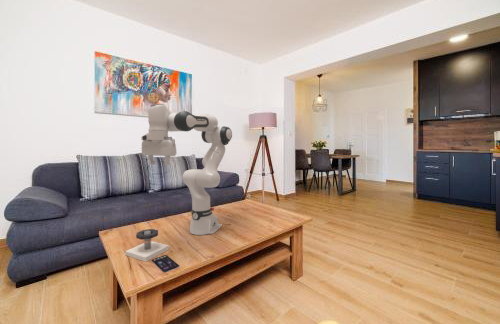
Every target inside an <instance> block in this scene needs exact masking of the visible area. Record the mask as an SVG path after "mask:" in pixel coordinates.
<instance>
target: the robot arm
mask: <svg viewBox="0 0 500 324" xmlns="http://www.w3.org/2000/svg"><path fill="white" fill-rule="evenodd" d="M147 116H148V119H147V120H148V121H147V122H148V125H149V128H148V133H145V134H143V135H142V136H141V154H142V155H143V156H147V159H148V160H149V165H151V166H153V165H155V163H156V161H155V160H154V156H159V157H161V156H162V157H164V158H165V160H164V161H163V166H169V164H170V163H169V162H170V160H171V157H176V155H177V145H176V140H175V138H174V137H173V136H169V132H170V133H172V132H190V131H192V130H193V129H194V130H195V131H197V132H201V139H202V141H203V142H204V143H208V144H211V146H210V147H209V149H208V150H207V152H206V153H205V154H204V156H203V158H202V161H201V163H202V166H203V168H202V169H199V168H198V169H196V168H192V169H188V170H187V169H186V170H185V171H184V172H183V174H182V181H183V183H184V185H186V186H187V188H188V189H189V192H190V196H191V204H192V205H191V207H192V208H191V216H190V225H189V229H188V230H189V233H190V234H192V235H197V236H204V235H210V234H212V235H213V234H215V233H216V232H217V231H218V230H219V229H221V227H223V224H222V223H221V222H219V218H218V216H217V215H215V214H213V212H214V211H215V208H214V207H211V195H210V194H209V193H208V192H207V191H206V190H205V189H206V188H207V189H208V188H209V189H212V188H213V189H214V188H216V187H218V186H219V184H221V183H220V182H221V176H220V173H219V172H218V168H219V166H220V163H221V162H222V160H223V158H224V156H225V153H226V145H229V143H230V141H231V140H232V139H233V132H232V129H231V128H230V127H229V126H218V125H219V121H218V119H217V117H216V116H214V115H211V114H208V113H197V114H193V113H191V112H189V111H185V110H184V111H180V112H178V111H177V112H172V110H170V109H168V107H167V105H166V104H164V103H158V104H157V103H156V104H151V105H150V106H149V108H148V115H147Z"/></svg>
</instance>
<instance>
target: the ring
mask: <svg viewBox="0 0 500 324" xmlns="http://www.w3.org/2000/svg"><path fill="white" fill-rule="evenodd" d="M145 231H151V234H147V235H144V232H145ZM158 235H159V229H155V228H149V229H143V230H140V231H138V232H136V235H135V236H136V237H135V238H136V239H138V240H142V241H144V239H150V238H151V239H153V238H156V237H158Z"/></svg>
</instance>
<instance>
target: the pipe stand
mask: <svg viewBox="0 0 500 324" xmlns="http://www.w3.org/2000/svg"><path fill="white" fill-rule="evenodd" d="M147 234H151V231H145V232H144V235H147ZM168 250H170V246H169V245H168V244H164V243H160V242H157V241H153V240H152V238H150V239H144V240H143V243H141V244H138V245H137V246H134V247H132V248H130V249H128V250H127V249H126V250H125V253H124V254H125V256H127V257H129V258H134V259H136V260H139V261H141V262H144V263H145V262H148V261H151V260H152V259H154V258H157V256H159V255H162V254H163V253H165V252H167V251H168Z"/></svg>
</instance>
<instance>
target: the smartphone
mask: <svg viewBox="0 0 500 324" xmlns="http://www.w3.org/2000/svg"><path fill="white" fill-rule="evenodd" d="M150 261H151V263H153V264H154V266H155V267H156V268H157V269H159V270H160V271H161V272H162V274H163V273H164V274H166V273H168V272H171V271H173V270H176V269H179V268H180V266H181V265H180V264H179V263H177V262H176V261H175V260H174V259H172V258H171V257H170V256H169V255H167V254H164V255H160V256H158V257H157V256H156V257H154V258H152V259H150Z"/></svg>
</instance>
